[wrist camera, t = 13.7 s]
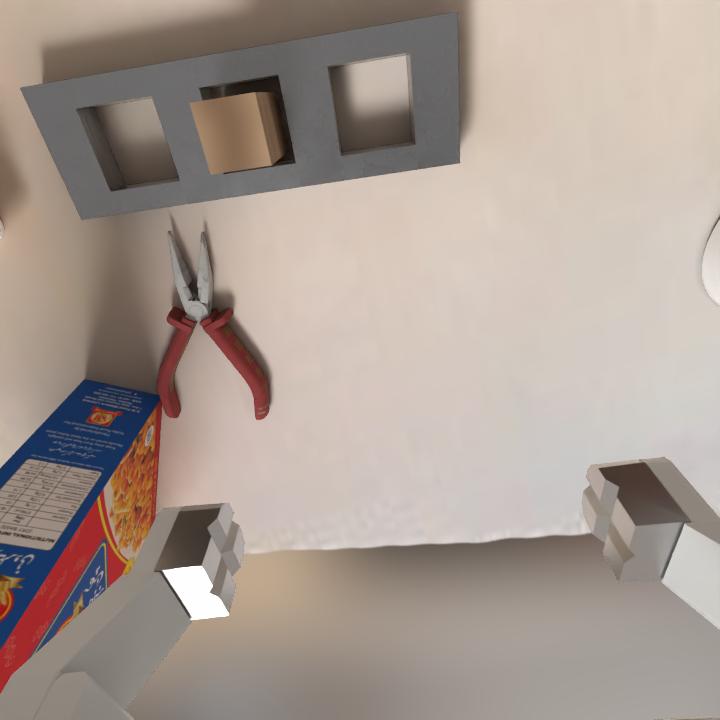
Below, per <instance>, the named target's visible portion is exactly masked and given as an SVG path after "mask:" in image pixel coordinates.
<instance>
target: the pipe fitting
mask: <svg viewBox="0 0 720 720" xmlns="http://www.w3.org/2000/svg"><path fill="white" fill-rule="evenodd" d="M3 234H4V226H3V223H2V221H1V219H0V239H1V238H2V236H3Z"/></svg>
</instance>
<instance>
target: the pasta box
mask: <svg viewBox="0 0 720 720" xmlns="http://www.w3.org/2000/svg"><path fill="white" fill-rule="evenodd" d="M161 414H162V402H161V399H160V396H159V395H155V394H150V393H146V392H141V391H136V390H132V389H127V388H122V387H118V386H113V385H108V384H104V383H99V382H94V381H90V380H84V381H83V382H82V383H81V384H80V385H79V386H78V387H77V388H76V389H75V390H74V391H73V392H72V393H71V394H70V395H69V396H68V398H67V399H66V400H65V401H64V402H63V403H62V404H61V405H60V406H59V407H58V408H57V409H56V410H55V411H54V412H53V413H52V414H51V415H50V417H49V418H48V419H47V420H46V421H45V422H44V423H43V424H42V425H41V426H40V427H39V428H38V429H37V430H36V431H35V432H34V433H33V434H32V436H31V437H30V438H29V439H28V440H27V441H26V442H25V443H24V444H23V445H22V446H21V447H20V448H19V449H18V450H17V451H16V452H15V453H14V455H13V456H12V457H11V458H10V459H9V460H8V461H7V462H6V463H5V464H4V465H3V466H2V467H1V468H0V694H1V692H2V691H3V689H4V687H5V686H6V684H7V682H8V681H9V679H10V677H11V675H12V674H13V673H14V672H15V671H17V670H18V669H19V668H20V667H21V666H22V665H23V664H24V663H25V662H27V661H28V660H29V659H30V658H31V657H32V656H33V655H34V654H35V653H37V652H38V651H39V650H40V649H41V648H42V647H43V646H44V645H45V644H46V643H48V642H49V641H50V640H51V639H52V638H53V637H54V636H55V635H56V634H58V633H59V632H60V631H61V630H62V629H63V628H64V627H65V626H66V625H68V624H69V623H70V622H71V621H72V620H73V619H74V618H75V617H76V616H77V615H79V614H80V613H81V612H82V611H83V610H84V609H85V608H86V607H87V606H89V605H90V604H91V603H92V602H93V601H94V600H95V599H96V598H97V597H99V596H100V595H101V594H102V593H103V592H104V591H105V590H106V589H107V588H109V587H110V586H111V585H112V584H113V583H114V582H115V581H116V580H117V579H118V578H120V577H121V576H122V575H127V574H129V573H130V571H131V568H132V566H133V564H134V562H135V560H136V558H137V556H138V554H139V552H140V550H141V548H142V545H143V543H144V541H145V539H146V537H147V535H148V533H149V531H150V529H151V527H152V525H153V522H154V520H155V510H156V494H157V478H158V462H159V446H160V430H161Z"/></svg>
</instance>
